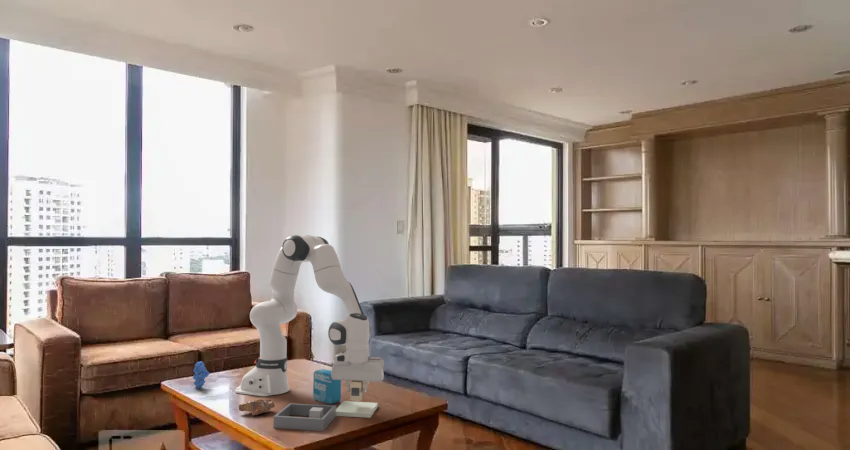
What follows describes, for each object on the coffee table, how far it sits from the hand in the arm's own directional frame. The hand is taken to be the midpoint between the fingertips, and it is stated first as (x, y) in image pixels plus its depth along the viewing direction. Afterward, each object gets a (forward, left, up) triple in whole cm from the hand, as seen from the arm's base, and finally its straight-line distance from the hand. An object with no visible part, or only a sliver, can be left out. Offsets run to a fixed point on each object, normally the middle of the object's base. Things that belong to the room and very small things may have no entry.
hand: (357, 392), depth 225 cm
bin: (-15, -16, -7) cm, 23 cm away
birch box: (0, 0, -3) cm, 3 cm away
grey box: (-11, -16, -7) cm, 21 cm away
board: (0, 0, -7) cm, 7 cm away
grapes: (-74, +19, -8) cm, 76 cm away
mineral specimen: (-36, -10, -8) cm, 38 cm away
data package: (-15, +11, -8) cm, 20 cm away
